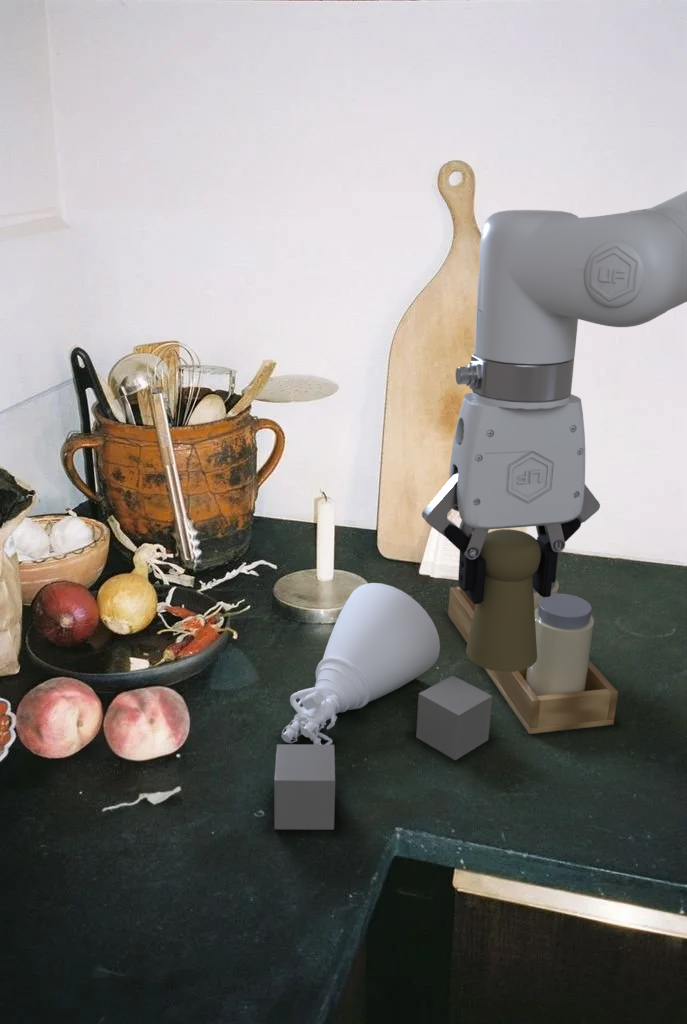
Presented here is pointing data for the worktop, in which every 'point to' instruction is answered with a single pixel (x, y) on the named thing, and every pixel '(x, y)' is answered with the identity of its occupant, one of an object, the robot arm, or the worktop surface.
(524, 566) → the olive pepper mill
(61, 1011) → the worktop surface
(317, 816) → the grey block
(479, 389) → the robot arm
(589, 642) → the cream shaker
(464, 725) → the grey block
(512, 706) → the spice rack
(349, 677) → the rocket engine
